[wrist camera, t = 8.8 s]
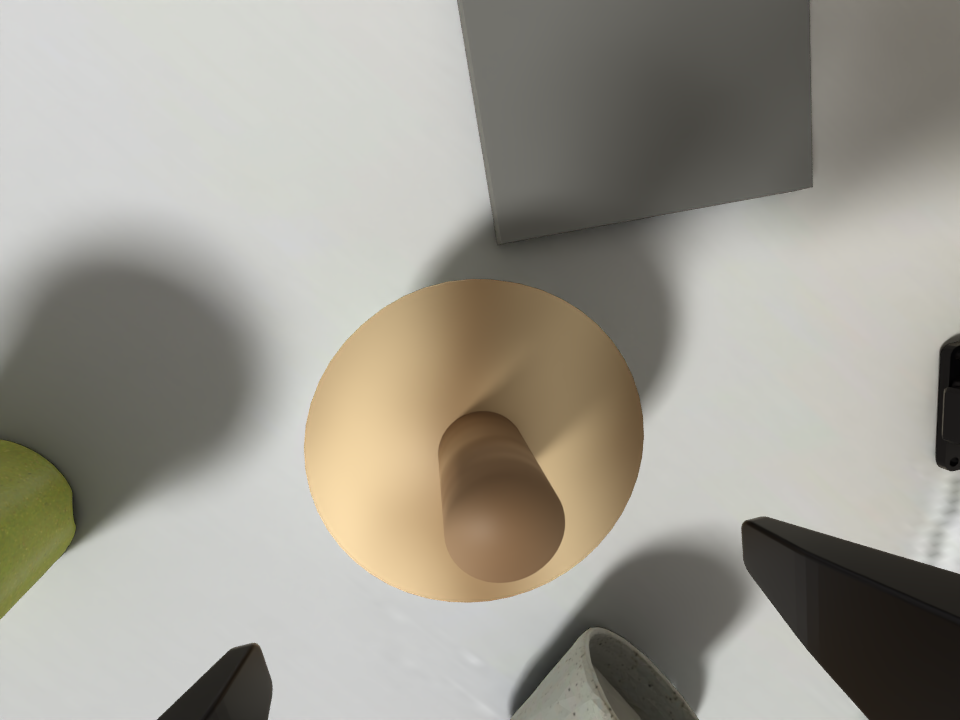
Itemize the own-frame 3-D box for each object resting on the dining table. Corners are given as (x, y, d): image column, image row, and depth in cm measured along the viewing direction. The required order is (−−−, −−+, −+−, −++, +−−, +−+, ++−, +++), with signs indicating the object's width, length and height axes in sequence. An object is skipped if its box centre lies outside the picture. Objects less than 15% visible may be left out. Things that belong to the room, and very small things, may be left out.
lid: (611, 250, 15) (714, 240, 10) (645, 543, 17) (743, 664, 12) (271, 315, 14) (179, 342, 9) (356, 614, 16) (324, 779, 11)
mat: (783, -178, 17) (805, -206, 16) (793, 191, 19) (812, 187, 18) (433, -141, 15) (434, -168, 15) (497, 244, 18) (501, 243, 17)
